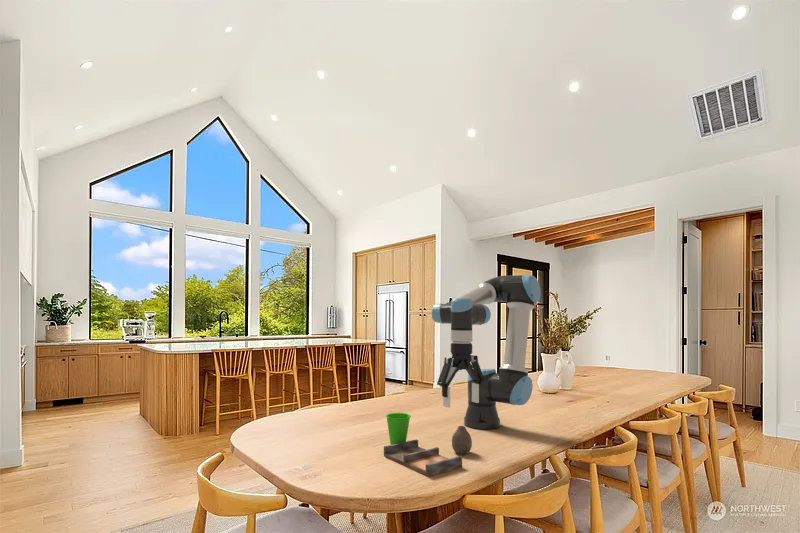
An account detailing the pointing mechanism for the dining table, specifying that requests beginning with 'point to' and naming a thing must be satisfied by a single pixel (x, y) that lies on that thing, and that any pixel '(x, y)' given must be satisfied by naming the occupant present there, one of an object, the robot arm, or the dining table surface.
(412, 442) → the rack
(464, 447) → the vase
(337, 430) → the dining table surface
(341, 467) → the dining table surface
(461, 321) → the robot arm
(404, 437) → the cup
